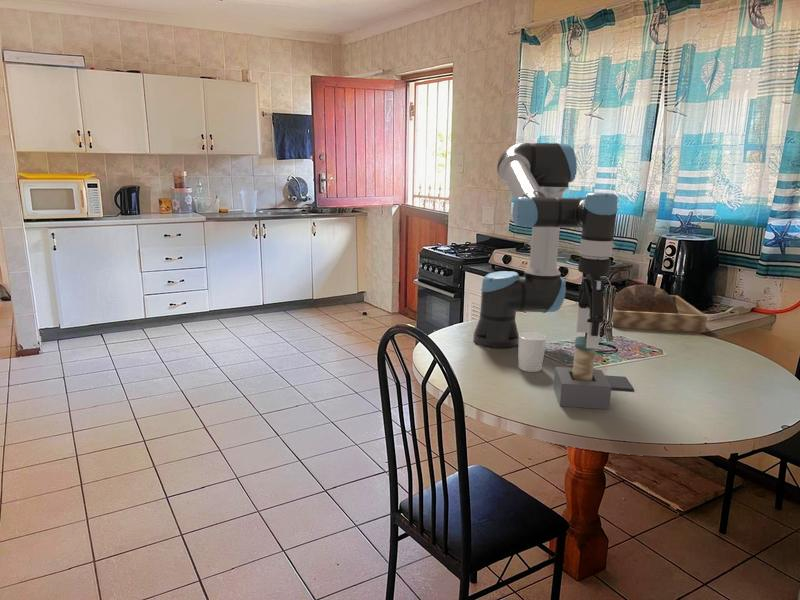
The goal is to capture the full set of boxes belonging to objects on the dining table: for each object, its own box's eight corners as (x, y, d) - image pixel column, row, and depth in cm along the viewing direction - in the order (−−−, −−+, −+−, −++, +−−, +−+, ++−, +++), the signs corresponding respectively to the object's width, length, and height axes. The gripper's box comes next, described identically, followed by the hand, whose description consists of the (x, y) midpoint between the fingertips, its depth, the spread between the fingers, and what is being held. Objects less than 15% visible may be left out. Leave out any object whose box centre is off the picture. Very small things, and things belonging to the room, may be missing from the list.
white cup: (544, 365, 176) (547, 333, 174) (542, 374, 169) (545, 341, 167) (518, 362, 179) (520, 330, 176) (514, 370, 172) (516, 338, 169)
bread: (602, 320, 227) (606, 287, 224) (611, 305, 250) (614, 275, 247) (676, 331, 216) (681, 296, 213) (678, 314, 239) (682, 282, 236)
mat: (599, 388, 160) (599, 386, 160) (593, 376, 169) (593, 374, 169) (633, 390, 159) (634, 388, 159) (625, 378, 168) (625, 376, 168)
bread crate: (611, 326, 218) (613, 311, 217) (594, 305, 249) (595, 291, 248) (704, 332, 215) (707, 316, 213) (675, 309, 246) (677, 295, 244)
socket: (559, 405, 148) (561, 383, 147) (553, 387, 160) (555, 366, 158) (608, 409, 147) (611, 386, 146) (598, 390, 159) (601, 369, 157)
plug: (571, 401, 151) (577, 342, 147) (568, 393, 156) (574, 335, 152) (592, 402, 151) (598, 343, 147) (588, 394, 156) (594, 337, 152)
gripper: (623, 266, 132) (613, 356, 137) (600, 249, 156) (592, 327, 161) (589, 264, 133) (580, 354, 138) (571, 248, 157) (564, 325, 162)
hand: (586, 339), depth 149 cm, fingers open, 13 cm apart
